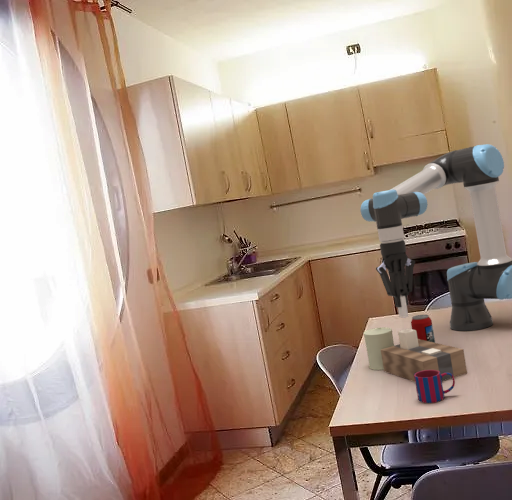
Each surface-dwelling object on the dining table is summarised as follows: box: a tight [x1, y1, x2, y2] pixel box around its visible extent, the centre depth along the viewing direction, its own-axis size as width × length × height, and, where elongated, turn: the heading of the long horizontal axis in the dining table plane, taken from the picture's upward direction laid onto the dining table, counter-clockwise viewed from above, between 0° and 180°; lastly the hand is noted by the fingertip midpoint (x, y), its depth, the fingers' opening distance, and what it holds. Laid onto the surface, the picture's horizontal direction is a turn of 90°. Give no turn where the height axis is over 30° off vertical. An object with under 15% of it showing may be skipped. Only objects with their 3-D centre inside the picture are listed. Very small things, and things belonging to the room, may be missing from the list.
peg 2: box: [422, 348, 441, 356], centre depth 181 cm, size 4×4×7 cm
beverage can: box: [410, 314, 436, 343], centre depth 207 cm, size 7×7×12 cm
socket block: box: [381, 339, 468, 383], centre depth 186 cm, size 22×14×7 cm, turn 21°
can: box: [363, 326, 395, 371], centre depth 200 cm, size 9×9×12 cm
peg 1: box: [397, 328, 419, 350], centre depth 191 cm, size 4×4×7 cm
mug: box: [414, 370, 456, 404], centre depth 163 cm, size 7×10×7 cm
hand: (403, 316), depth 190 cm, fingers closed
